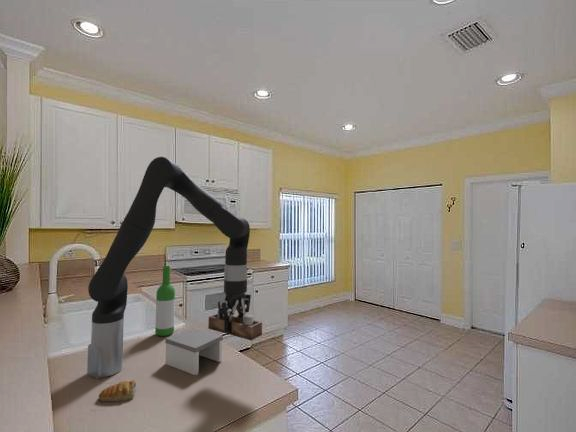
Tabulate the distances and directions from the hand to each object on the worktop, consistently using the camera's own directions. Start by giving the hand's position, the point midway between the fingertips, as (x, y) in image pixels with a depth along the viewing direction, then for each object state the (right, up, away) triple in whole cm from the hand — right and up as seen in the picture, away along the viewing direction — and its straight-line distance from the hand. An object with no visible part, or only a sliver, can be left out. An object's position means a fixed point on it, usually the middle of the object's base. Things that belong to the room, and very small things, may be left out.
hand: (234, 329), depth 99 cm
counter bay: (-16, -15, +9) cm, 24 cm away
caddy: (0, -1, 0) cm, 1 cm away
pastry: (-31, -15, -12) cm, 36 cm away
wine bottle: (-38, -16, +36) cm, 54 cm away
